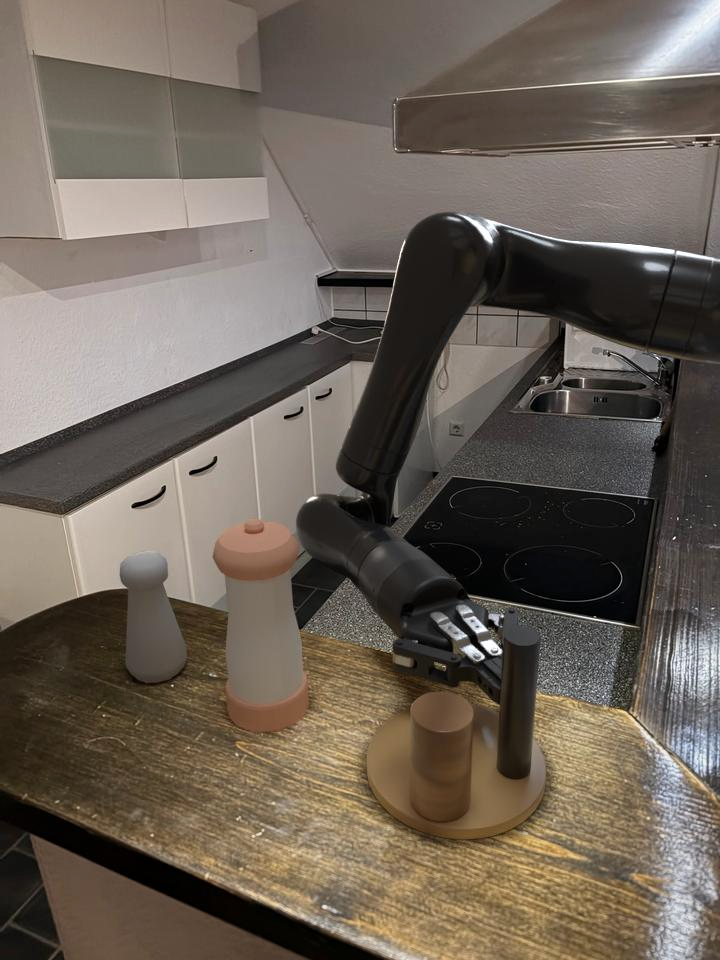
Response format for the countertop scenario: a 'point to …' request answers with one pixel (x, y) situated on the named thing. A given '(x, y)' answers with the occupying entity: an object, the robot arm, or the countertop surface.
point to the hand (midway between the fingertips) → (517, 696)
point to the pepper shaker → (261, 626)
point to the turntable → (465, 754)
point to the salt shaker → (150, 620)
